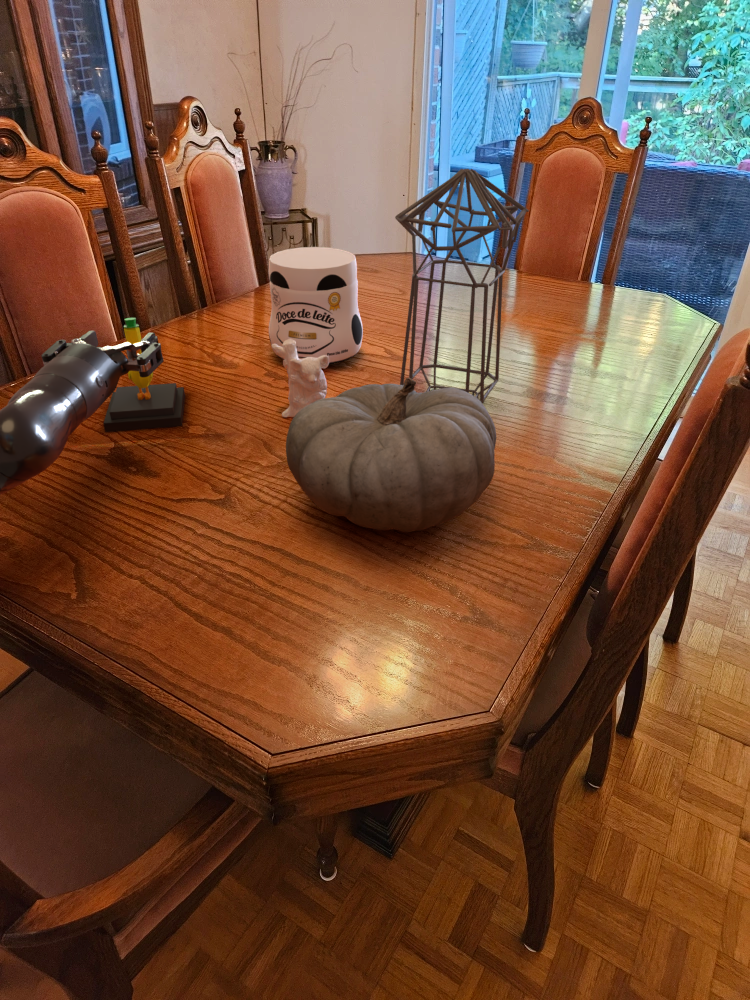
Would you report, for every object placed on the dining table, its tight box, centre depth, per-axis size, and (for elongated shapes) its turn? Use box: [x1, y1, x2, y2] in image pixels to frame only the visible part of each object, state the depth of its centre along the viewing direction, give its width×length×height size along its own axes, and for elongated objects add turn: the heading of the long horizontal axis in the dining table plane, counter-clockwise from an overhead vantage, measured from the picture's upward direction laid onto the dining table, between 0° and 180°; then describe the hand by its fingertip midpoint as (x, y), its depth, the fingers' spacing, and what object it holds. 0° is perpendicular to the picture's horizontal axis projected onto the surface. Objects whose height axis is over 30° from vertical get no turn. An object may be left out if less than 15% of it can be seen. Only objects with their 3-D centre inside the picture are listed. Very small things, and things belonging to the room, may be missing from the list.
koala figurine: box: [271, 339, 330, 418], centre depth 102 cm, size 8×7×12 cm
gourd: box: [285, 377, 497, 533], centre depth 80 cm, size 25×25×17 cm
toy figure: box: [123, 317, 154, 400], centre depth 98 cm, size 7×4×12 cm, turn 9°
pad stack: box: [102, 382, 186, 433], centre depth 103 cm, size 11×11×4 cm
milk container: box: [268, 246, 364, 366], centre depth 120 cm, size 17×17×18 cm
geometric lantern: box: [394, 168, 530, 404], centre depth 97 cm, size 16×16×35 cm
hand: (124, 338), depth 94 cm, fingers open, 8 cm apart
